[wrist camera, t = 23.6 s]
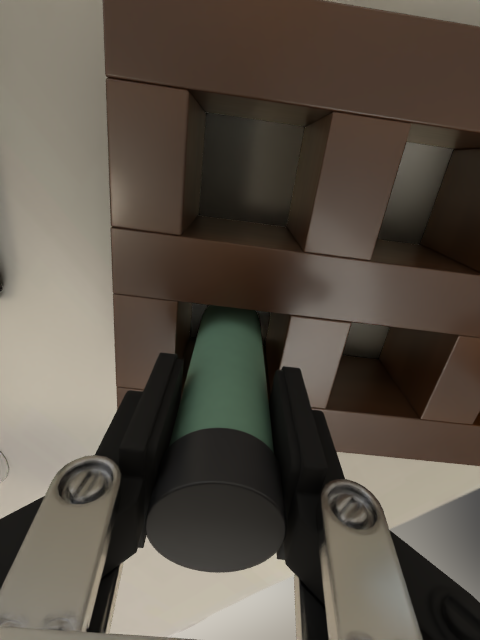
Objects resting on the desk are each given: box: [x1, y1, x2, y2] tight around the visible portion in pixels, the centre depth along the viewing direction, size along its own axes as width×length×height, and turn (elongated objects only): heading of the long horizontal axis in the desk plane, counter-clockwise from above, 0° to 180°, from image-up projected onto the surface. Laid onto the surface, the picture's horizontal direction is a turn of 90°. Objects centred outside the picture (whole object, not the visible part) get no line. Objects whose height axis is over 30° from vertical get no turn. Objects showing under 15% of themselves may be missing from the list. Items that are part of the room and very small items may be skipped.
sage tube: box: [145, 305, 287, 572], centre depth 12 cm, size 3×3×10 cm
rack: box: [103, 0, 480, 466], centre depth 15 cm, size 16×22×5 cm
